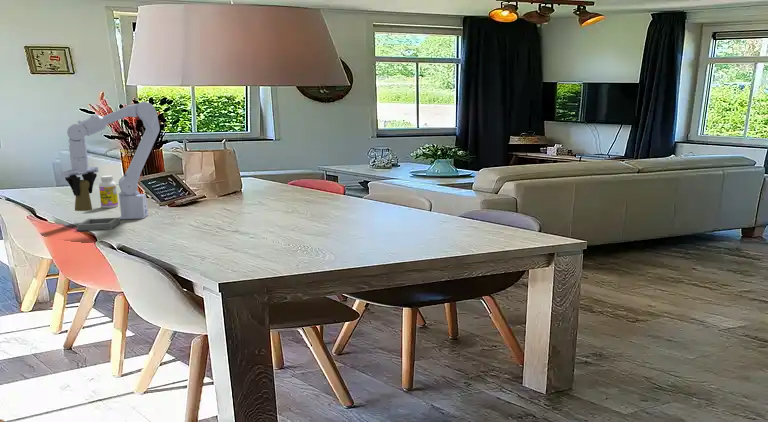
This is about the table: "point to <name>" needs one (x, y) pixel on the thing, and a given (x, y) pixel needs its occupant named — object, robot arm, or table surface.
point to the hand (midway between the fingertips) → (83, 194)
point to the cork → (83, 197)
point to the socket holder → (98, 224)
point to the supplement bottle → (108, 192)
